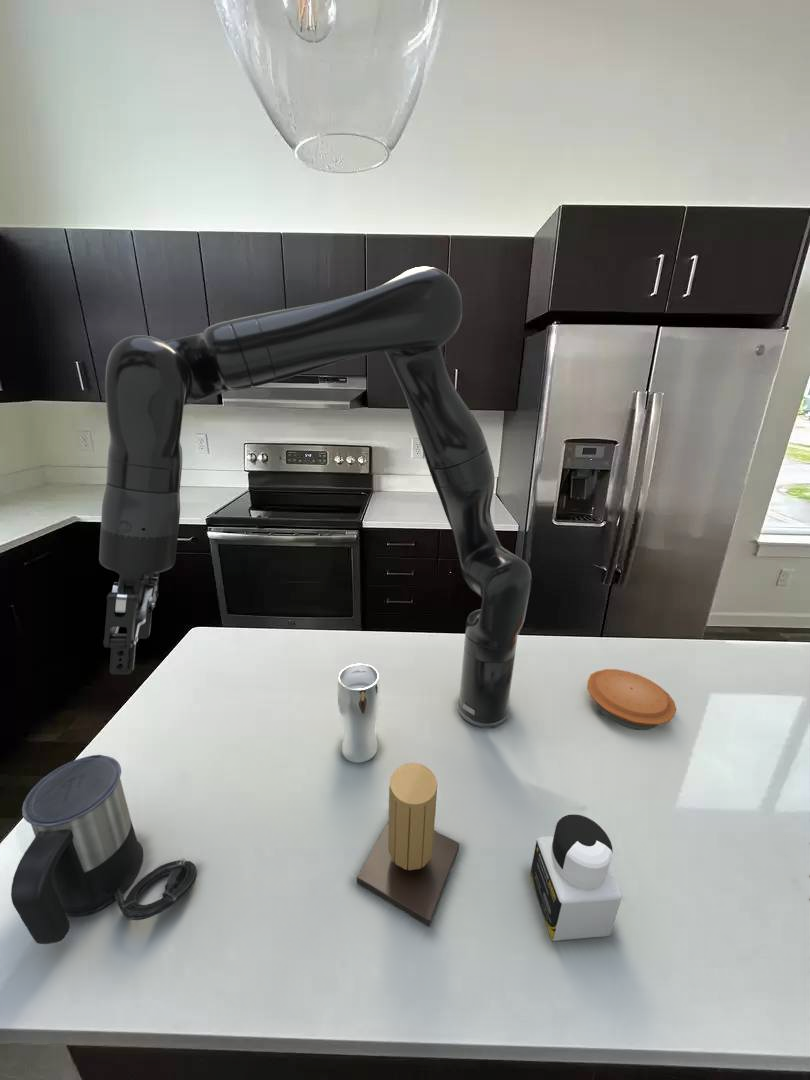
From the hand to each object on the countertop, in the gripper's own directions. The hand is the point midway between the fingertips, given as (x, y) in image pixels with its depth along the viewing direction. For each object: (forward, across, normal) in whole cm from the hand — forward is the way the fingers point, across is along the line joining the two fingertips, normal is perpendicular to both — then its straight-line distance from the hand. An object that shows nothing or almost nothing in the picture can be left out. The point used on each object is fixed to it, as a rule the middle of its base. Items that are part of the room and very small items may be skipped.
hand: (131, 653), depth 52 cm
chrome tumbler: (+20, +5, -34) cm, 40 cm away
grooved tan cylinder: (+18, -16, -35) cm, 42 cm away
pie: (+10, -1, -85) cm, 86 cm away
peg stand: (+21, -15, -36) cm, 45 cm away
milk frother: (+28, -6, -3) cm, 29 cm away
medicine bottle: (+19, -26, -53) cm, 61 cm away
